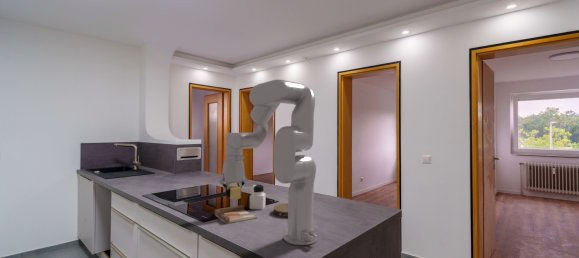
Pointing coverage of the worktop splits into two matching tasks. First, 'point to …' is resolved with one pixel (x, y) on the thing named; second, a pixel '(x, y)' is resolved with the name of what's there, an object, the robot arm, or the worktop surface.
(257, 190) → the medicine bottle
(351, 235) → the worktop surface
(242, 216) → the tray
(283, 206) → the tan flat round disc
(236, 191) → the mustard block
